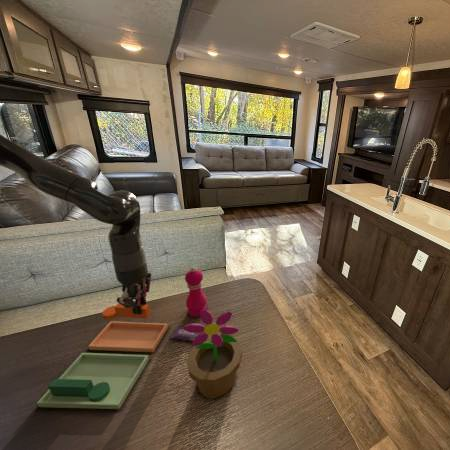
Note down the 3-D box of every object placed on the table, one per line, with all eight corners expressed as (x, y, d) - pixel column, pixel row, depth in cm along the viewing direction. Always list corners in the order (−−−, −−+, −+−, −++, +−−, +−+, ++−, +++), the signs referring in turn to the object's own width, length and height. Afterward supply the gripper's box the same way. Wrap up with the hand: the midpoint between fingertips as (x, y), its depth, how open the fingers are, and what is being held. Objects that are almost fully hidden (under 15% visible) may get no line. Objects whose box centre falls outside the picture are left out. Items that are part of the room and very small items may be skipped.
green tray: (39, 408, 61) (36, 403, 60) (83, 357, 74) (82, 352, 73) (119, 410, 62) (117, 405, 61) (149, 360, 75) (148, 355, 75)
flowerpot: (186, 412, 63) (173, 323, 52) (193, 362, 76) (183, 282, 64) (243, 399, 67) (243, 315, 56) (240, 354, 80) (240, 277, 68)
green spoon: (114, 385, 67) (111, 376, 66) (102, 402, 63) (99, 392, 62) (63, 383, 66) (59, 374, 65) (48, 401, 62) (43, 391, 61)
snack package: (169, 335, 82) (177, 324, 86) (170, 340, 82) (178, 328, 87) (203, 340, 81) (209, 328, 86) (204, 344, 82) (210, 332, 87)
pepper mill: (185, 319, 91) (180, 274, 83) (188, 305, 98) (183, 262, 90) (206, 316, 93) (203, 272, 85) (207, 303, 100) (204, 261, 92)
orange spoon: (99, 319, 74) (96, 309, 72) (109, 308, 78) (107, 299, 76) (145, 321, 75) (143, 312, 73) (152, 311, 79) (151, 302, 77)
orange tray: (89, 351, 76) (87, 346, 75) (111, 325, 86) (110, 321, 85) (153, 353, 77) (152, 348, 77) (168, 328, 87) (167, 323, 86)
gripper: (131, 249, 75) (140, 295, 82) (98, 276, 62) (112, 327, 69) (156, 251, 75) (163, 296, 82) (129, 277, 63) (140, 328, 69)
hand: (140, 310), depth 76 cm, fingers closed on orange spoon, 2 cm apart
